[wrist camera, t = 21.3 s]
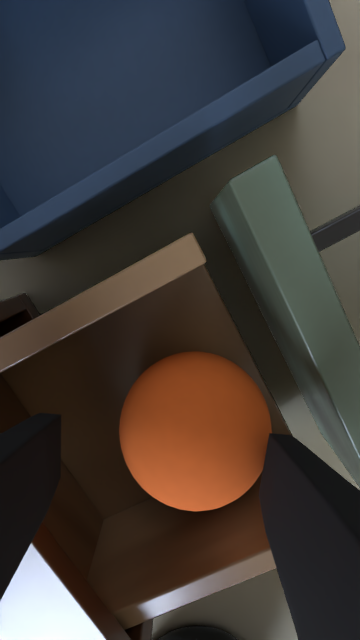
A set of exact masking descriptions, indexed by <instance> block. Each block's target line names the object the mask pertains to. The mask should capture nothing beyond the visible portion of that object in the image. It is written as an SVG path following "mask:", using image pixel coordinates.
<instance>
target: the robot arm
mask: <svg viewBox="0 0 360 640" xmlns="http://www.w3.org/2000/svg"><path fill="white" fill-rule="evenodd" d="M60 478H61V415H60V414H49V413H38V414H36V415H34V416H32V417H30V418H28V419H26V420H24V421H22V422H21V423H19V424H17V425H15V426H13V427H12V428H10V429H8V430H6V431H5V432H3V433H1V434H0V601H1V599H2V597H3V595H4V593H5V591H6V589H7V587H8V586H9V584H10V582H11V580H12V578H13V576H14V574H15V572H16V571H17V569H18V567H19V565H20V563H21V561H22V559H23V557H24V556H25V554H26V552H27V550H28V548H29V546H30V544H31V542H32V541H33V539H34V537H35V535H36V533H37V531H38V529H39V527H40V525H41V523H42V521H43V520H44V518H45V516H46V514H47V511H48V509H49V506H50V504H51V501H52V499H53V496H54V494H55V491H56V488H57V486H58V483H59V480H60ZM259 500H260V505H261V511H262V517H263V522H264V527H265V532H266V535H267V539H268V542H269V545H270V548H271V552H272V555H273V558H274V562H275V565H276V568H277V571H278V574H279V578H280V581H281V584H282V587H283V590H284V594H285V597H286V600H287V603H288V606H289V610H290V613H291V616H292V619H293V622H294V625H295V629H296V633H297V636H298V640H360V490H358V489H357V488H356V487H355V486H353V485H352V484H351V483H349V482H348V481H347V480H346V479H344V478H343V477H342V476H341V475H340V474H338V473H337V472H336V471H335V470H333V469H332V468H331V467H330V466H329V465H327V464H326V463H325V462H324V461H323V460H321V459H320V458H319V457H318V456H317V455H315V454H314V453H313V452H312V451H311V450H309V449H308V448H307V447H306V446H305V445H303V444H302V443H301V442H300V441H298V440H297V439H296V438H294V437H293V436H291V435H285V434H273V433H269V438H268V444H267V449H266V455H265V461H264V466H263V472H262V478H261V484H260V489H259Z"/></svg>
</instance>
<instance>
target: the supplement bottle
mask: <svg viewBox="0 0 360 640" xmlns="http://www.w3.org/2000/svg"><path fill="white" fill-rule="evenodd" d="M158 640H237V639H236V638H235V637H233V636H232V635H230V634H228V633H226V632H224V631H222V630H219V629H216V628H212V627H206V626H191V627H184V628H180V629H177V630H174V631H171V632H169V633H167V634H165V635H164V636H162V637H161V638H159V639H158Z"/></svg>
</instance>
